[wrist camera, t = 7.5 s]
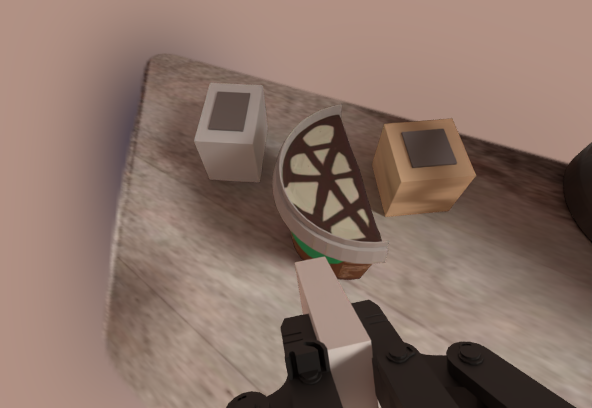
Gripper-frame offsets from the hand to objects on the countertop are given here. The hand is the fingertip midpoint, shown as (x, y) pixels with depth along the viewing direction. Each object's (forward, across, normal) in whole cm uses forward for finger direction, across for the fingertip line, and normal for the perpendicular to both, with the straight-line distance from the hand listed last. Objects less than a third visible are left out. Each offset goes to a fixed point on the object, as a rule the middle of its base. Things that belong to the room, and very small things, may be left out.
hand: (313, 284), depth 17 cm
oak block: (+17, +12, -1) cm, 21 cm away
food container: (+14, +2, -3) cm, 15 cm away
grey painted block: (+22, -3, +4) cm, 22 cm away
